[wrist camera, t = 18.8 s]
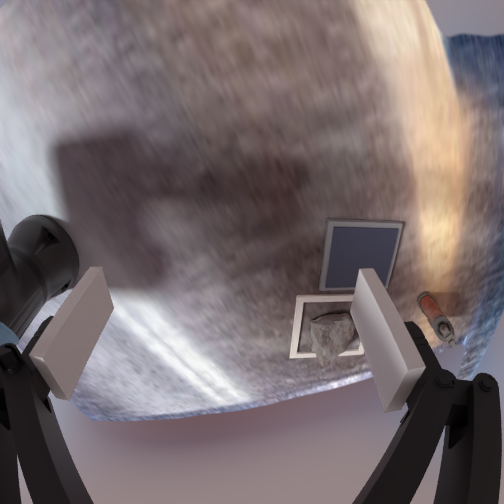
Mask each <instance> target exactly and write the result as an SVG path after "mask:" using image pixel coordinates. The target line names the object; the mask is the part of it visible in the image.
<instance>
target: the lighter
mask: <svg viewBox="0 0 504 504" xmlns="http://www.w3.org/2000/svg"><path fill="white" fill-rule="evenodd" d="M417 301H418V304H419V307H420V308H421V310H422V312H423V313H424V315H425V316H426V317H427V318H428V321H429V323H430V325H431V327H432V328H433V330H434V332H435V334H436V335H437V337H438V338H439V339H440V340H441V341H443V342H448V343H449V345H450V347H452V348H453V347H454V346H456V342H455V341H454V339H453V337H454V329H453V327H452V324H451V323H450V321H449V320H448V319H447V317H445V316H444V314H443V313H442V311H441V310H440V308H439V306H438V304H437V302H436V301H435V299H434V298H433V297H432V295H431V294H429V293H428V292H427V291H426V292H422V293H421V294H420V295H419V296H418V298H417Z"/></svg>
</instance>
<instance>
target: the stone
mask: <svg viewBox="0 0 504 504" xmlns="http://www.w3.org/2000/svg"><path fill="white" fill-rule="evenodd" d="M309 323H310V324H311V330H310V334H311V336H312V340H313V345H312V346H311V349H312V351H313V352H315V354H316V357H318V359H319V362H320V364H321V365H322V367H325V366H327V365H328V364H329V363H330V362H331V361H333V360H335V359H336V358H337V357H338V356H339V355H340V354H342V353H344V352H345V350H346V348H347V346H348V343H349V341H350V339H351V338H352V337H353V334H354V333H353V332H354V328H355V324H354V321H353V320H352V319H351V317H350V316H349V314H348V313H343V314H330V315H325V316H321V317H319V318H318V319H316V320H311V321H310V322H309Z"/></svg>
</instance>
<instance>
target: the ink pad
mask: <svg viewBox="0 0 504 504" xmlns="http://www.w3.org/2000/svg"><path fill="white" fill-rule="evenodd" d="M402 225H403V223H402V222H401V221H388V220H360V219H327V226H326V234H325V243H324V251H323V259H322V266H321V274H320V281H319V290H320V291H328V290H355V288H356V283H357V278H358V273H359V269H366V268H373V269H374V270H375V272H376V274H377V276H378V277H379V279H380V281H381V282H382V284H383V286H384V288H385V289H387V288H388V284H389V280H390V277H391V273H392V269H393V265H394V261H395V257H396V253H397V248H398V244H399V239H400V235H401V230H402Z"/></svg>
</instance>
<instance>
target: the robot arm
mask: <svg viewBox="0 0 504 504" xmlns="http://www.w3.org/2000/svg"><path fill="white" fill-rule="evenodd" d="M78 270H79V261H78V255H77V252H76V249H75V246H74V244H73V242H72V240H71V239H70V237H69V236H68V234H67V233H66V232H65V231H64V229H63V228H62V227H61V226H59V225H58V224H57V223H56V222H54V221H53V220H51V219H49V218H47V217H44V216H40V215H32V216H29V217H27V218H25V219H24V220H22V221H21V222H20V223H19V224H17V225H16V227H15V228H14V229H13V231H12V233H11V235H10V237H9V239H8V240H7V241H6V238H5V235H4V231H3V228H2V224H1V221H0V504H21V496H20V488H19V478H18V464H17V455H18V458H19V462H20V466H21V469H22V472H23V476H24V479H25V482H26V485H27V488H28V490H29V493H30V496H31V499H32V501H33V504H94V503H93V501H92V500H91V498H90V496H89V494H88V492H87V490H86V488H85V486H84V484H83V482H82V480H81V477H80V476H79V473H78V471H77V469H76V467H75V464H74V462H73V460H72V458H71V455H70V453H69V450H68V448H67V445H66V443H65V440H64V438H63V435H62V433H61V430H60V427H59V424H58V421H57V419H56V415H55V412H54V409H53V406H52V403H51V400H50V398H49V397H48V394H49V392H50V390H51V391H52V393H53V394H54V396H55V397H56V398H59V399H63V400H67V401H70V398H71V396H72V394H73V392H74V389H75V387H76V385H77V383H78V380H79V378H80V376H81V374H82V372H83V370H84V367H85V365H86V363H87V361H88V359H89V357H90V355H91V353H92V351H93V349H94V347H95V345H96V343H97V341H98V339H99V337H100V335H101V333H102V331H103V329H104V327H105V325H106V323H107V321H108V319H109V317H110V315H111V313H112V311H113V309H114V306H113V303H112V300H111V296H110V293H109V289H108V286H107V282H106V279H105V275H104V271H103V267H92V266H90V267H89V269H88V270H87V271H86V273H85V274H84V275H83V277H82V278H81V279H80V281H79V282H78V283H77V285H76V286H75V287H74V289H73V290H72V291H71V293H70V294H69V296H68V297H67V298H66V300H65V301H64V303H63V304H62V305H61V307H60V308H59V310H58V311H57V313H56V314H55V316H50V317H48V318H47V319H46V320H45V321H43V322H42V324H41V325H40V327H39V328H38V331H36V333H35V334H34V337H32V339H31V340H30V342H29V343H28V345H27V346H26V348H25V349H24V351H23V353H22V354H21V353H20V351H19V350H18V348H17V346H16V345H17V344H18V343H19V340H20V339H21V337H22V335H23V334H24V332H25V331H26V330H27V328H28V327H29V325H30V324H31V322H32V321H33V319H34V318H35V316H36V315H37V314H38V312H39V311H40V309H41V308H42V307H43V305H44V304H45V303H46V302H47V301H49V300H51V299H52V298H54V297H56V296H58V295H60V294H62V293H63V292H65V291H66V290H67V289H68V288H69V287H70V286H71V285H72V283H73V282H74V281H75V279H76V277H77V275H78ZM350 313H351V315H352V318H353V321H354V324H355V326H356V329H357V332H358V335H359V337H360V340H361V343H362V346H363V349H364V351H365V354H366V357H367V360H368V363H369V366H370V369H371V372H372V375H373V378H374V381H375V384H376V387H377V390H378V393H379V396H380V400H381V403H382V406H383V409H384V412H391V411H396V410H401V409H402V407H403V405H404V404H405V402H406V403H407V406H408V408H409V409H408V411H407V412H406V414H405V415H404V417H403V418H402V420H401V421H400V423H401V424H400V426H399V428H398V430H397V432H396V434H395V436H394V437H393V439H392V441H391V443H390V445H389V447H388V448H387V450H386V452H385V453H384V455H383V457H382V459H381V460H380V462H379V464H378V465H377V467H376V469H375V470H374V472H373V473H372V475H371V477H370V478H369V480H368V481H367V483H366V484H365V486H364V487H363V489H362V490H361V492H360V493H359V495H358V496H357V497H356V499H355V500H354V502H353V503H352V504H410V502H411V500H412V498H413V496H414V495H415V493H416V490H417V489H418V487H419V485H420V483H421V480H422V479H423V477H424V474H425V472H426V470H427V468H428V466H429V464H430V461H431V459H432V457H433V454H434V452H435V450H436V447H437V444H438V442H439V439H440V437H441V434H442V432H443V429H444V427H445V425H446V428H445V437H444V446H443V454H442V461H441V467H440V473H439V479H438V484H437V489H436V494H435V499H434V504H498V500H499V490H500V479H501V456H502V434H501V410H500V397H499V387H498V383H497V381H496V380H495V378H493V377H492V376H491V375H489V374H487V373H479V374H477V375H476V376H475V378H474V379H473V381H468V380H458V379H456V377H455V376H454V375H453V373H451V372H449V371H448V370H444V369H442V368H441V366H440V364H439V362H438V360H437V358H436V356H435V354H434V353H433V351H432V349H431V347H430V345H428V344H429V343H428V341H427V339H426V338H425V336H424V334H423V332H422V330H421V329H420V328H419V327H418V326H417V325H416V324H415V323H414V322H413V321H410V322H403V321H402V319H401V317H400V315H399V313H398V311H397V309H396V308H395V306H394V304H393V302H392V300H391V298H390V297H389V295H388V293H387V291H386V290H385V288H384V286H383V284H382V282H381V281H380V279H379V277H378V276H377V274H376V272H375V270H374V269H373V268H366V269H359V273H358V278H357V283H356V288H355V292H354V297H353V301H352V305H351V310H350Z"/></svg>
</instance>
